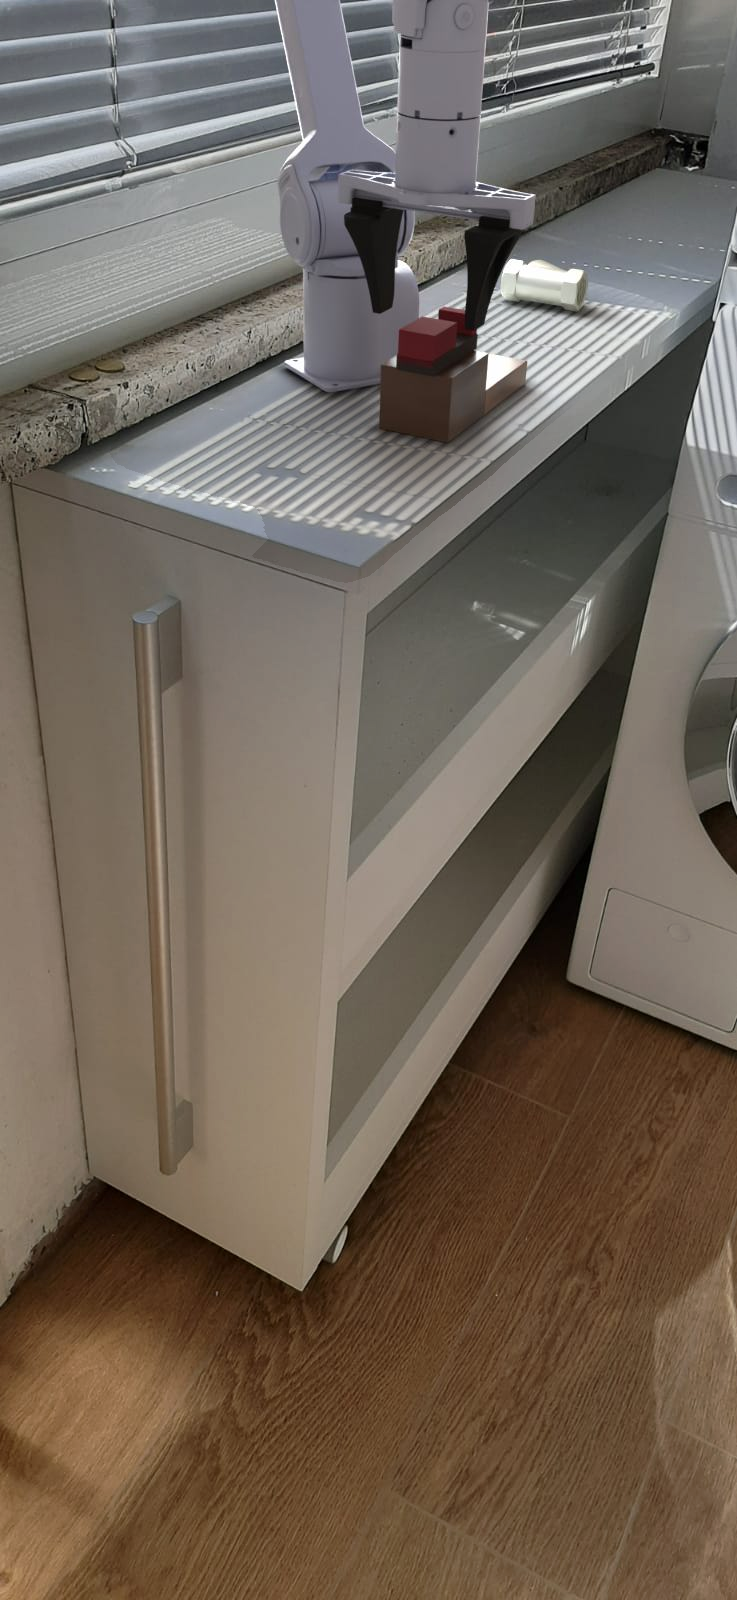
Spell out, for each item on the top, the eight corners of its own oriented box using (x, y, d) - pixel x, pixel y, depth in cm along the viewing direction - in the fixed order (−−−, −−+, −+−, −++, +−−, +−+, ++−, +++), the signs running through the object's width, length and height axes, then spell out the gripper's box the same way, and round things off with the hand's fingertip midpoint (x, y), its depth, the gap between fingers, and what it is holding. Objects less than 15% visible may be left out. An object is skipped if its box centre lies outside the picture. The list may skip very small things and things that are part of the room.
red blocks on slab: (440, 342, 101) (442, 303, 99) (476, 348, 100) (479, 309, 98) (395, 369, 95) (397, 329, 93) (434, 377, 94) (436, 336, 92)
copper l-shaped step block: (462, 371, 111) (466, 313, 108) (525, 383, 108) (531, 324, 105) (378, 428, 99) (380, 364, 96) (447, 443, 97) (451, 378, 94)
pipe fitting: (523, 292, 133) (498, 302, 128) (527, 252, 131) (503, 261, 126) (595, 303, 130) (573, 314, 125) (601, 263, 128) (579, 272, 123)
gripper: (317, 110, 86) (317, 315, 94) (514, 134, 80) (496, 349, 89) (365, 97, 91) (361, 293, 99) (554, 118, 85) (533, 323, 94)
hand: (427, 318), depth 94 cm, fingers open, 7 cm apart
